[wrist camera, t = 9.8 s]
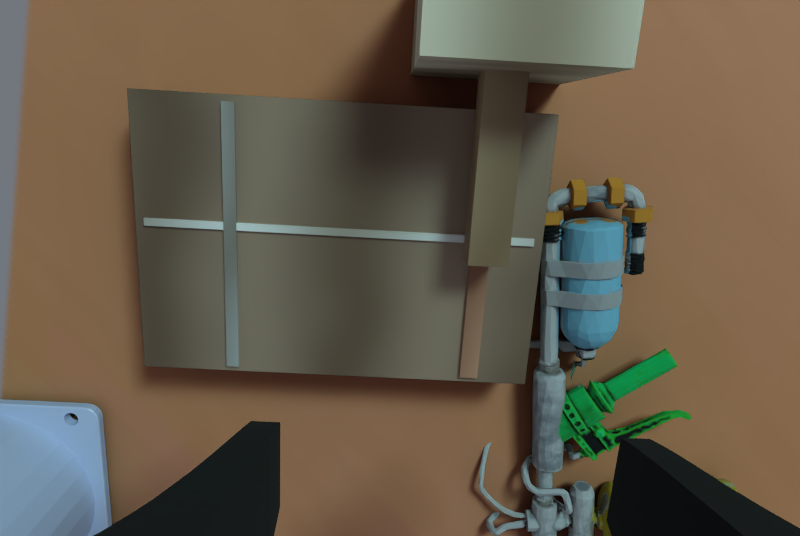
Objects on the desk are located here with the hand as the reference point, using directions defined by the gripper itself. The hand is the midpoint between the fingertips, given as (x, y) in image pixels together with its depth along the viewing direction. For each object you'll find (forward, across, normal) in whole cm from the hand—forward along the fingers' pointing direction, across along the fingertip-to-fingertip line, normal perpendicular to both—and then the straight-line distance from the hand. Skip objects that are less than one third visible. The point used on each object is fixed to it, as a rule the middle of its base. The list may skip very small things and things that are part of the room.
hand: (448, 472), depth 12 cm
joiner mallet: (+10, -2, -7) cm, 12 cm away
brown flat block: (+9, +3, -3) cm, 10 cm away
